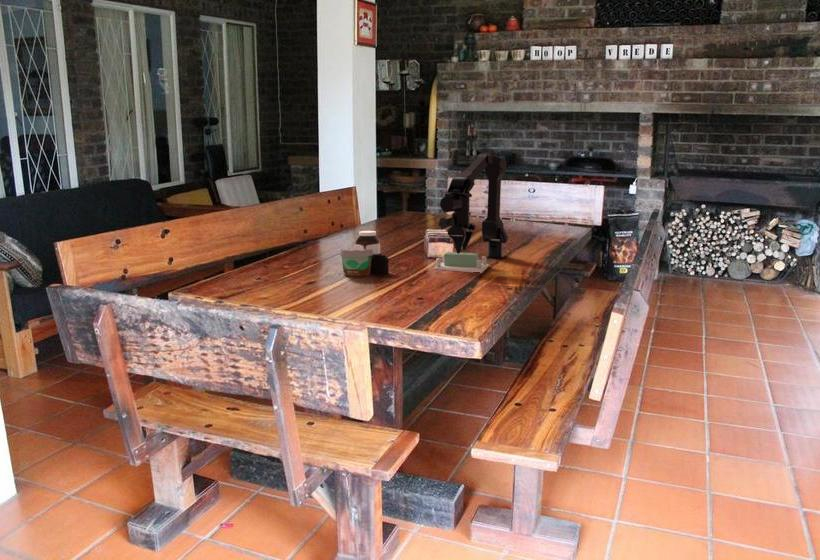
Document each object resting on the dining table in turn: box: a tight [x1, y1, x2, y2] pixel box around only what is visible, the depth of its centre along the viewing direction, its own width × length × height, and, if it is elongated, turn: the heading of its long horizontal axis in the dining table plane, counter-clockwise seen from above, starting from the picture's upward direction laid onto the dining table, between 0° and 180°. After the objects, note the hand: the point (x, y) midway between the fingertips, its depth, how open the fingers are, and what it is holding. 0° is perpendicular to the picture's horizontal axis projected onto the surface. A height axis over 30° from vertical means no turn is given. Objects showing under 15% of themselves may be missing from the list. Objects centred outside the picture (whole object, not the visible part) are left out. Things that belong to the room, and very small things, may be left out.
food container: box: [339, 249, 374, 279], centre depth 260 cm, size 12×6×10 cm, turn 87°
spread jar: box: [349, 230, 381, 254], centre depth 296 cm, size 12×11×12 cm
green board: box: [443, 251, 480, 267], centre depth 275 cm, size 5×12×4 cm, turn 73°
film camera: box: [370, 252, 390, 276], centre depth 268 cm, size 15×10×9 cm, turn 81°
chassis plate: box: [433, 254, 489, 274], centre depth 276 cm, size 12×18×4 cm, turn 72°
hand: (461, 251), depth 275 cm, fingers open, 9 cm apart
